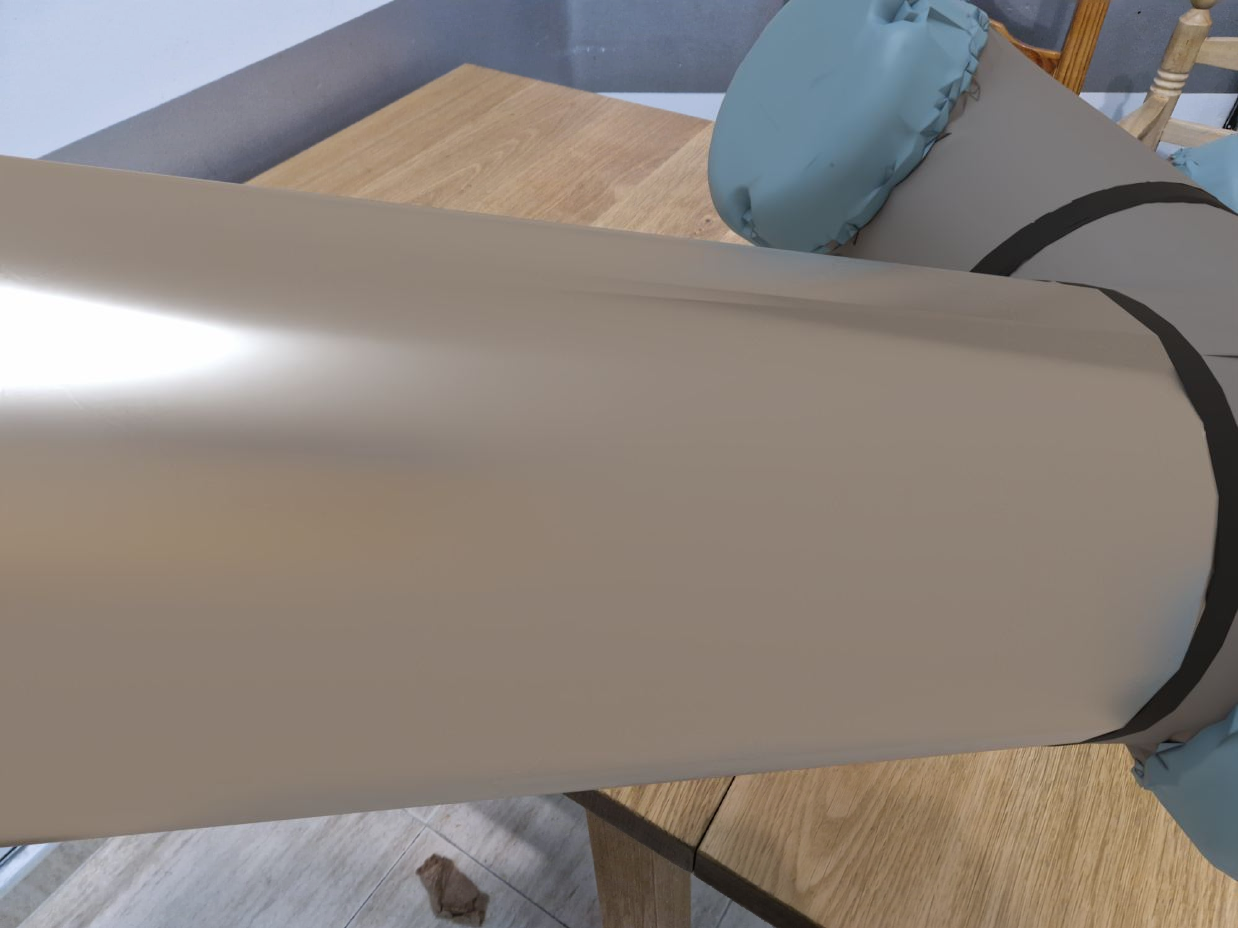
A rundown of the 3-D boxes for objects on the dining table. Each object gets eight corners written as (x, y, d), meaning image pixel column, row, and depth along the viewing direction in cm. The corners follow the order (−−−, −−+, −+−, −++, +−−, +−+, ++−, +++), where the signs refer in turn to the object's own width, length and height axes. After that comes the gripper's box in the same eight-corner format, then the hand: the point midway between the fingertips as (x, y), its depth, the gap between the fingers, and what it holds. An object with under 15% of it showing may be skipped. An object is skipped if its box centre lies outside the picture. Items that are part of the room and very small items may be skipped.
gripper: (825, 595, 33) (531, 622, 51) (999, 342, 43) (703, 441, 62) (717, 437, 31) (453, 525, 50) (924, 215, 42) (644, 355, 60)
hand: (592, 478), depth 56 cm, fingers closed on pill bottle, 6 cm apart
